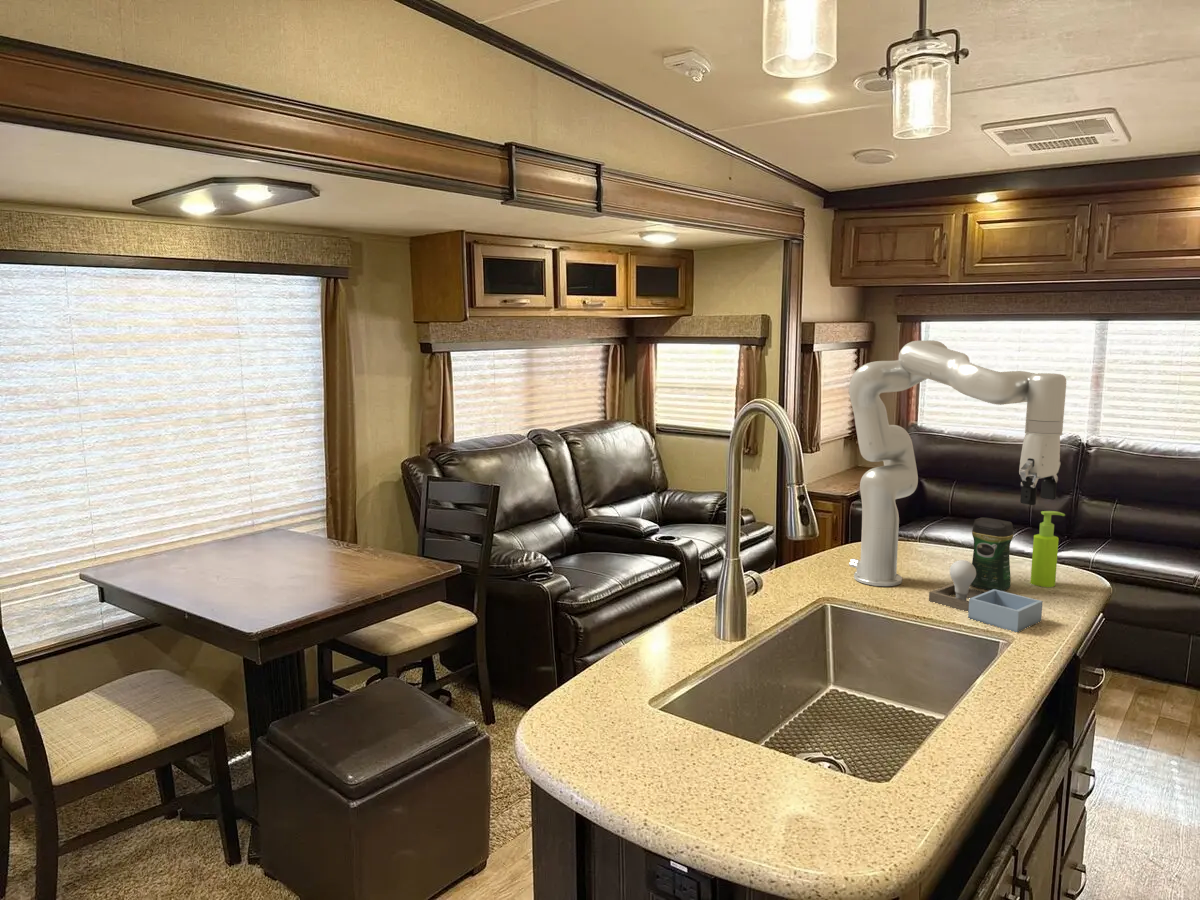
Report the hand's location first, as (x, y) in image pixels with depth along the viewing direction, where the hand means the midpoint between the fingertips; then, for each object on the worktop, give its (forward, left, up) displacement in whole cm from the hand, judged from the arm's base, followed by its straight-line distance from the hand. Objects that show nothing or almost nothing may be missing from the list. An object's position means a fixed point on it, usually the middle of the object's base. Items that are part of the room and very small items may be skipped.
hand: (1038, 501), depth 189 cm
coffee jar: (-19, +18, -29) cm, 39 cm away
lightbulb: (-17, 0, -29) cm, 34 cm away
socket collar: (-17, 0, -29) cm, 34 cm away
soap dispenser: (-11, +32, -29) cm, 45 cm away
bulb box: (-4, -4, -29) cm, 29 cm away
